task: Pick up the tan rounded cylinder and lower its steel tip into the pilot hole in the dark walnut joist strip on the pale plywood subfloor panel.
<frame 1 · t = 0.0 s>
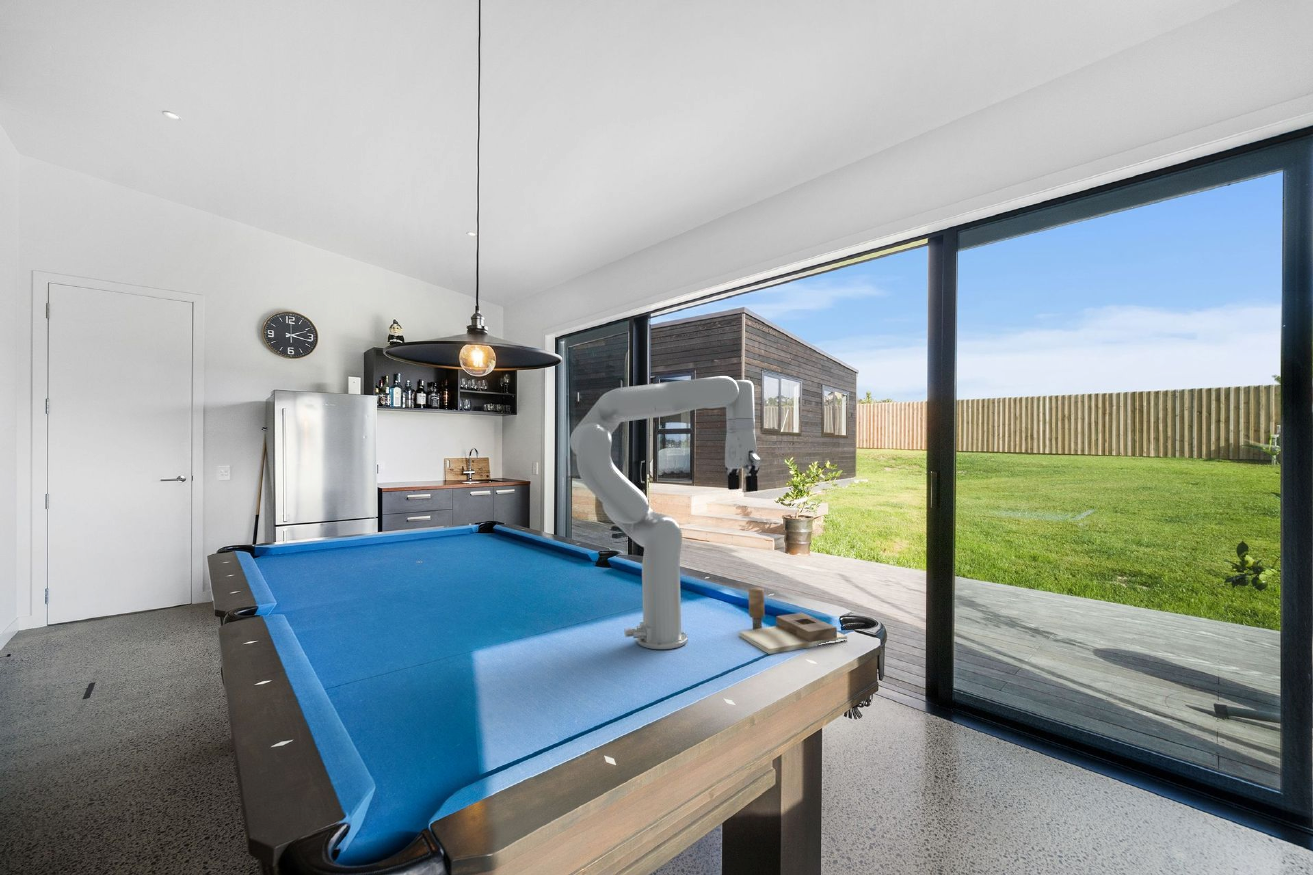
hand: (742, 490, 148), 37 cm above the table, fingers open, 9 cm apart
subfloor panel: (792, 638, 137), on the table
tan rounded cylinder: (757, 629, 145), on the table
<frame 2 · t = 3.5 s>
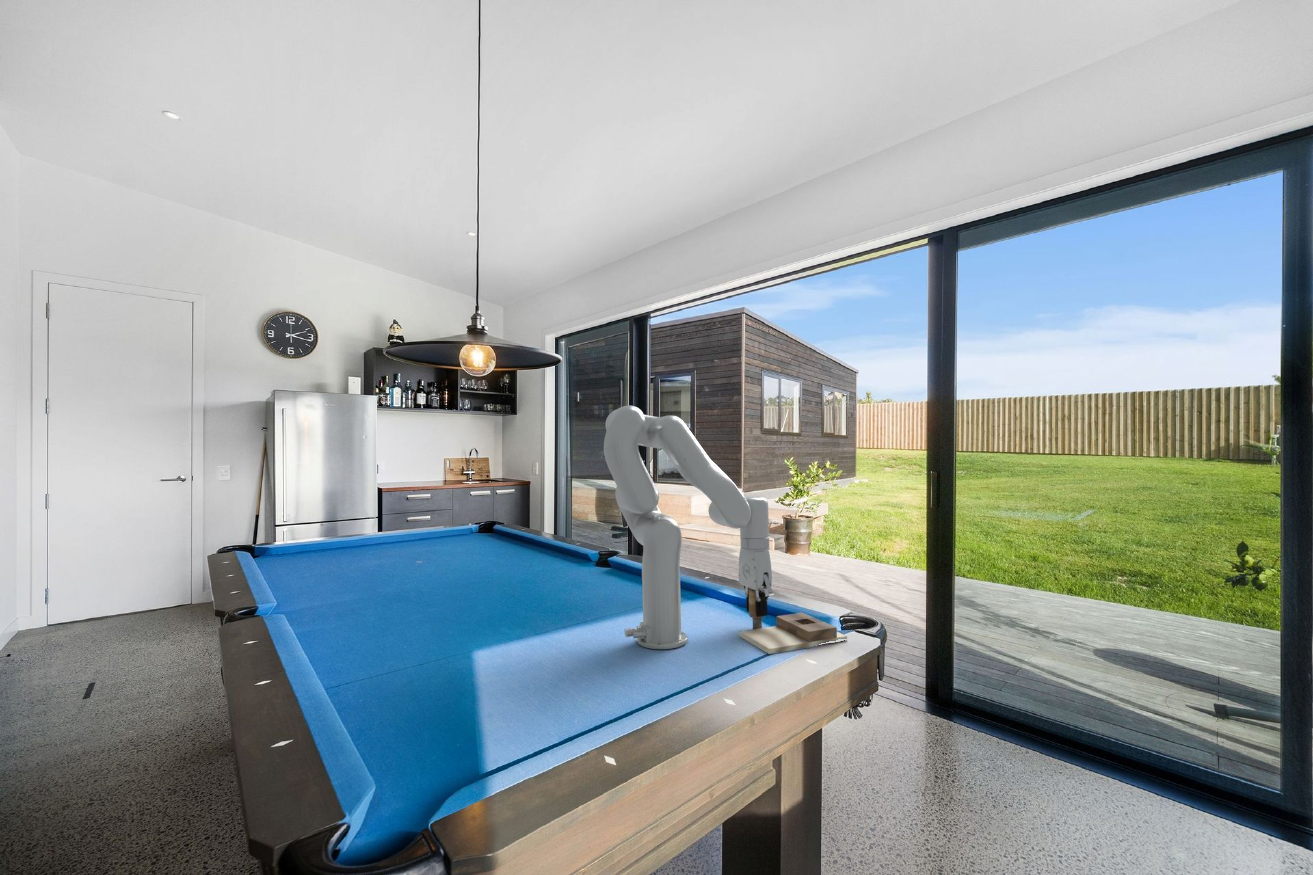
hand: (756, 612, 146), 4 cm above the table, fingers closed on tan rounded cylinder, 4 cm apart
tan rounded cylinder: (757, 629, 145), on the table, touching gripper
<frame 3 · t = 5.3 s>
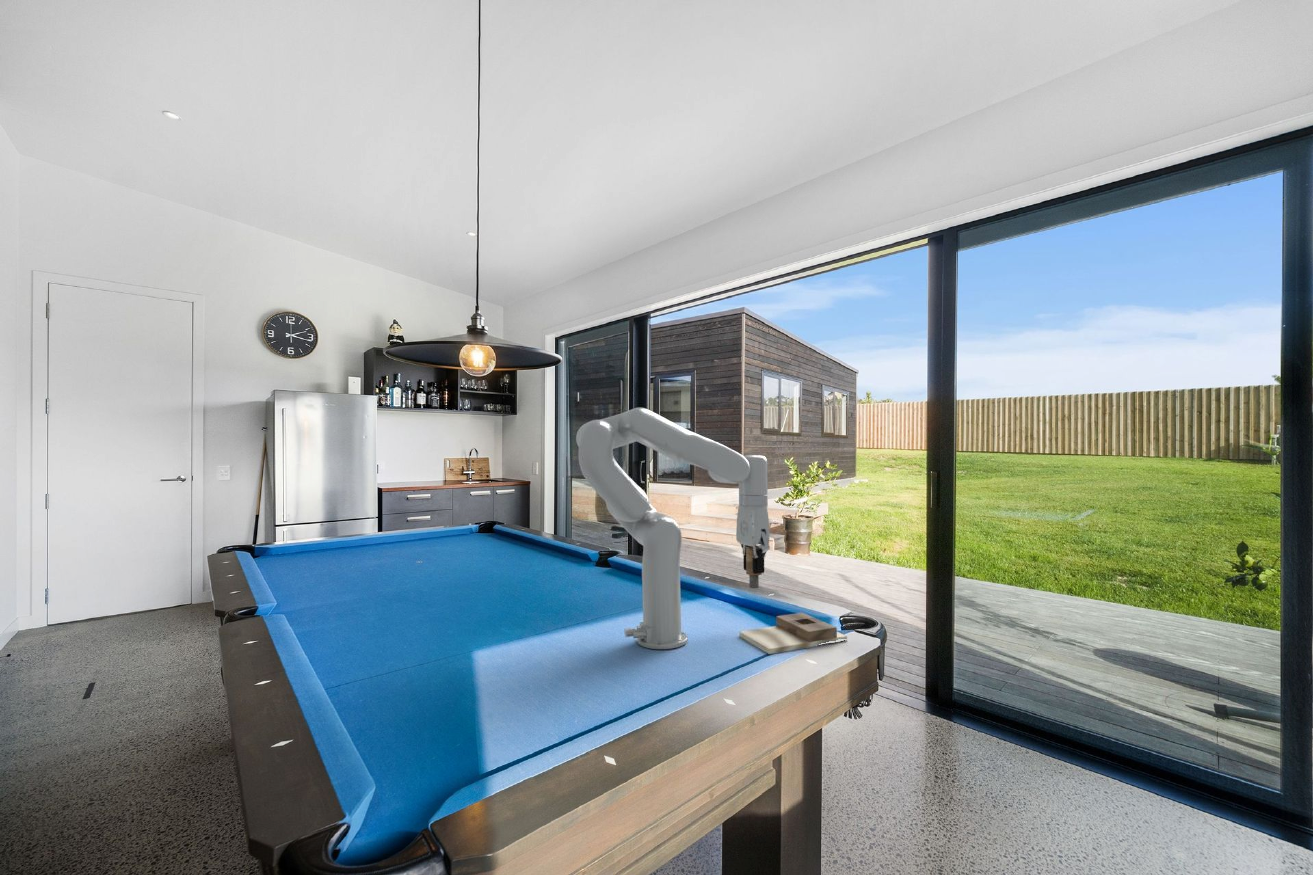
hand: (753, 570, 146), 15 cm above the table, fingers closed on tan rounded cylinder, 4 cm apart
tan rounded cylinder: (754, 587, 146), point 11 cm above the table, touching gripper
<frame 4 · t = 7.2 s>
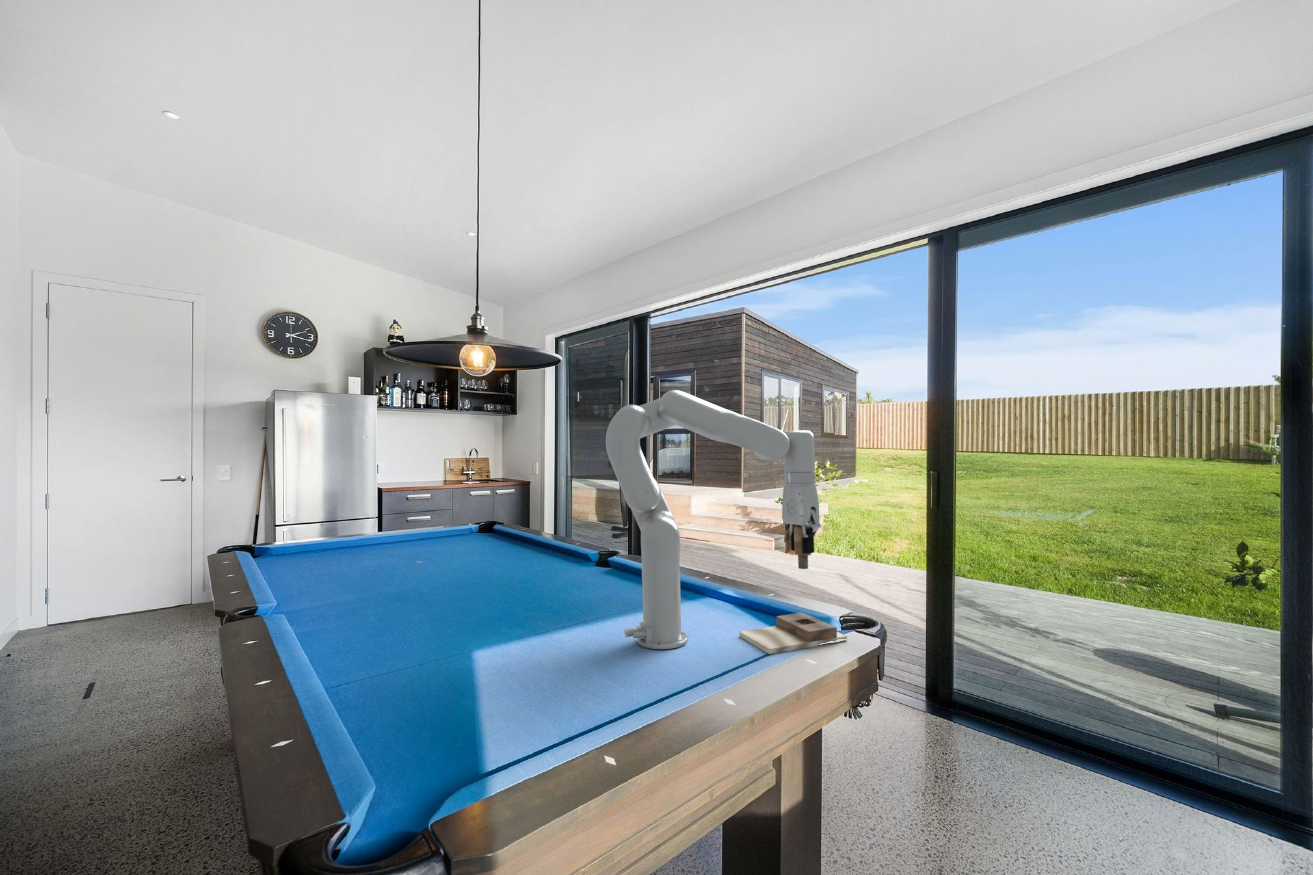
hand: (802, 550, 140), 21 cm above the table, fingers closed on tan rounded cylinder, 4 cm apart
tan rounded cylinder: (803, 567, 140), point 17 cm above the table, touching gripper
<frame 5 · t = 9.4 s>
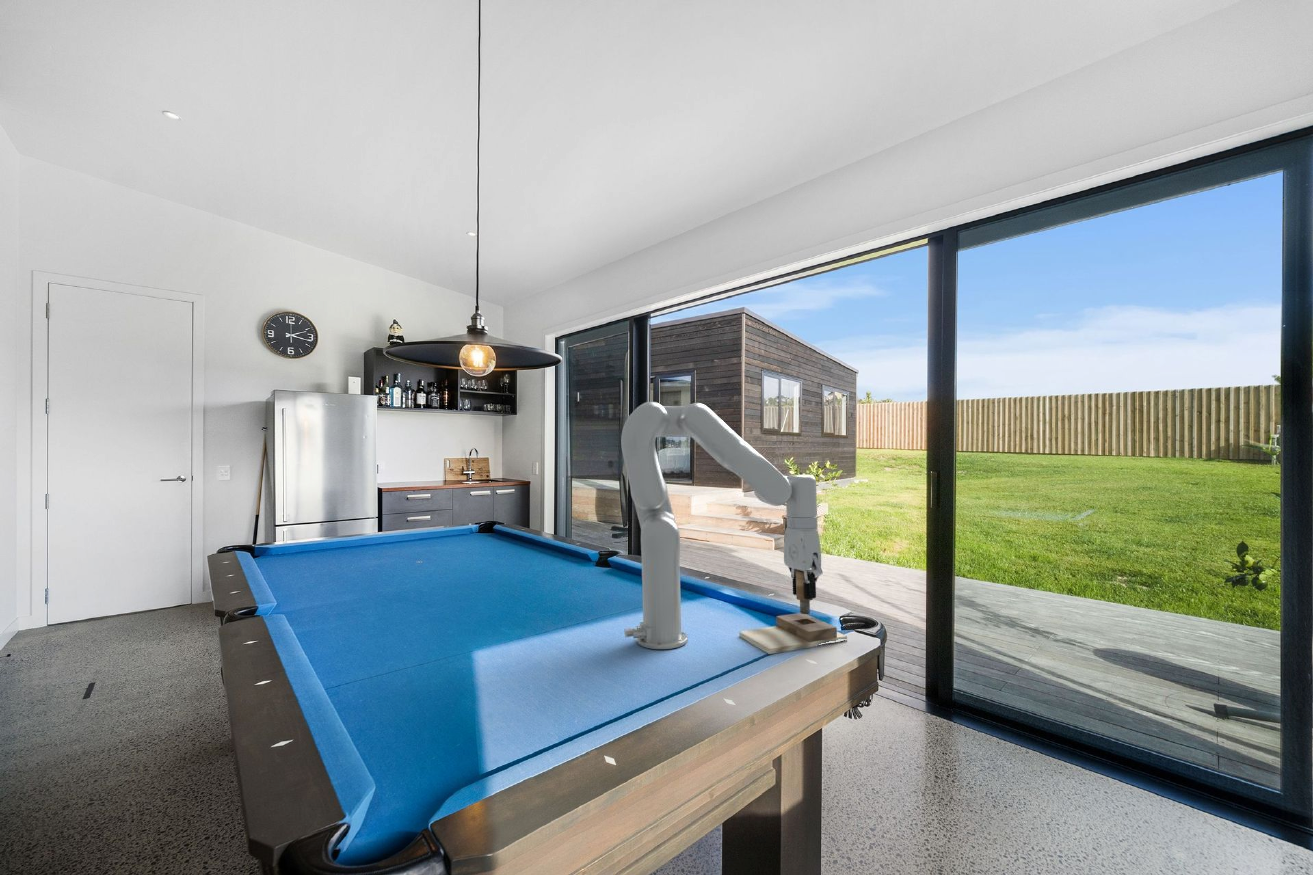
hand: (804, 595, 139), 10 cm above the table, fingers closed on tan rounded cylinder, 4 cm apart
tan rounded cylinder: (805, 612, 139), point 6 cm above the table, touching gripper
when the fingers open (6 cm above the table, at t = 10.9 s): tan rounded cylinder stays where it is, resting on subfloor panel.
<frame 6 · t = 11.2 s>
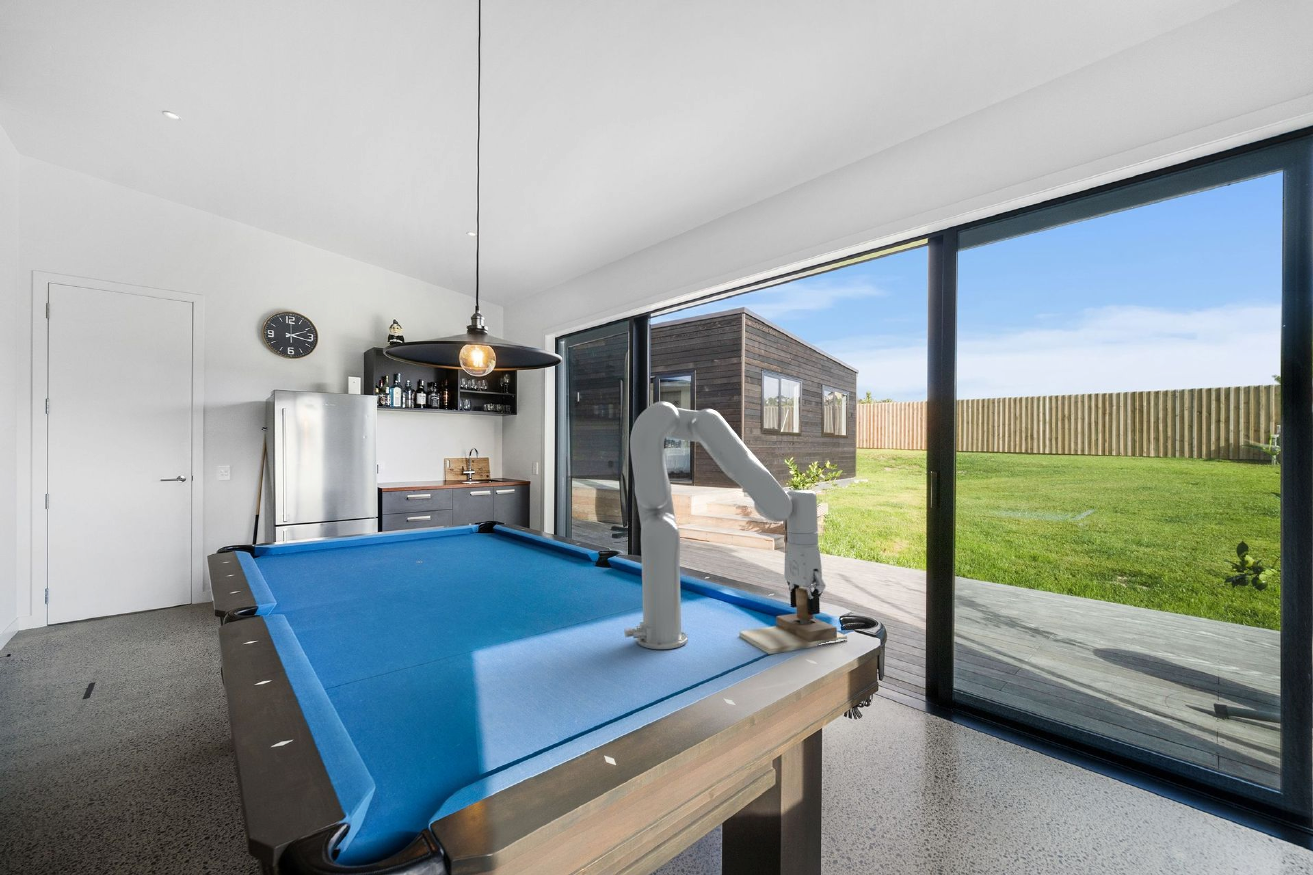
hand: (804, 609, 139), 7 cm above the table, fingers open, 6 cm apart
tan rounded cylinder: (805, 631, 139), point 1 cm above the table, touching subfloor panel
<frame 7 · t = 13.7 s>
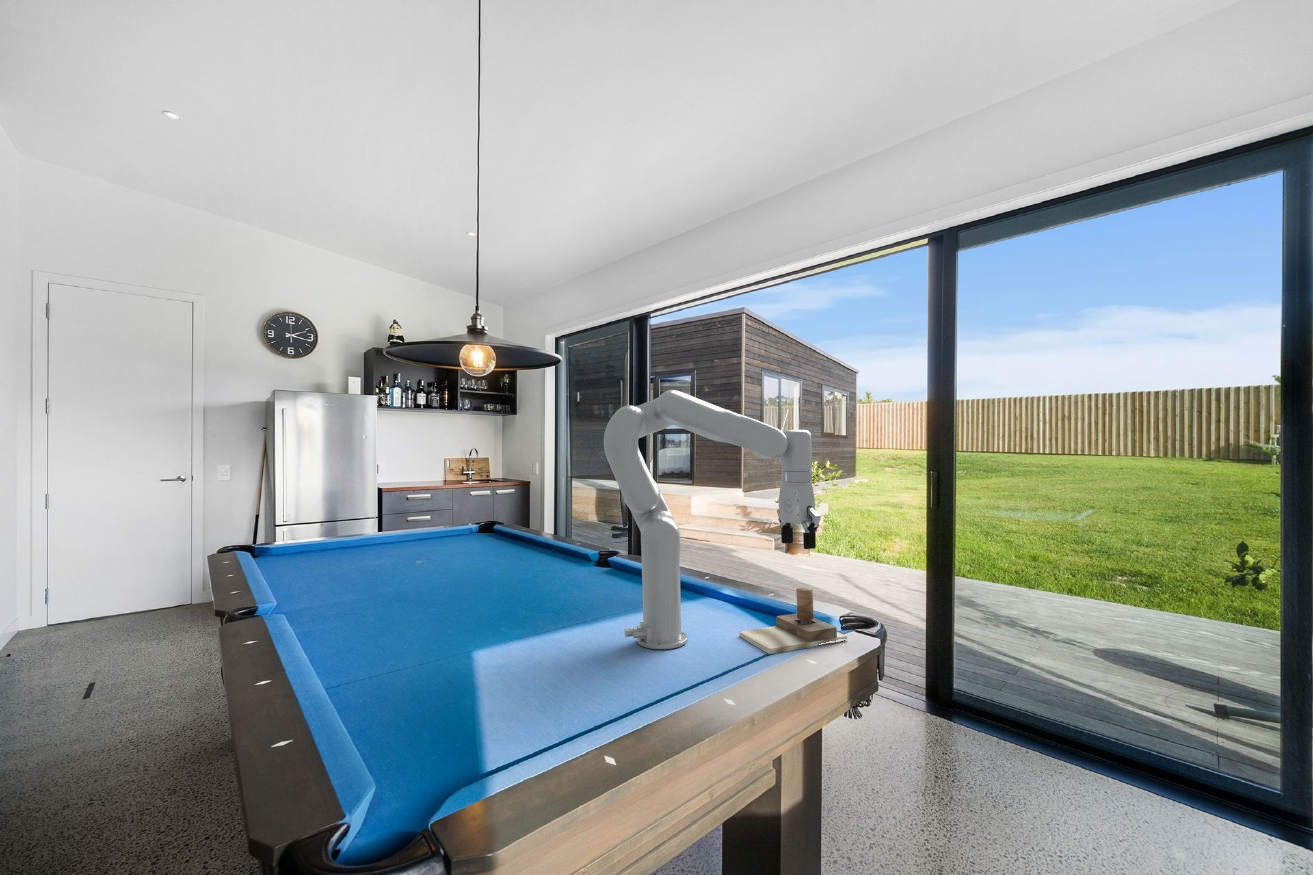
hand: (798, 545, 140), 23 cm above the table, fingers open, 9 cm apart
nothing on the table moved.
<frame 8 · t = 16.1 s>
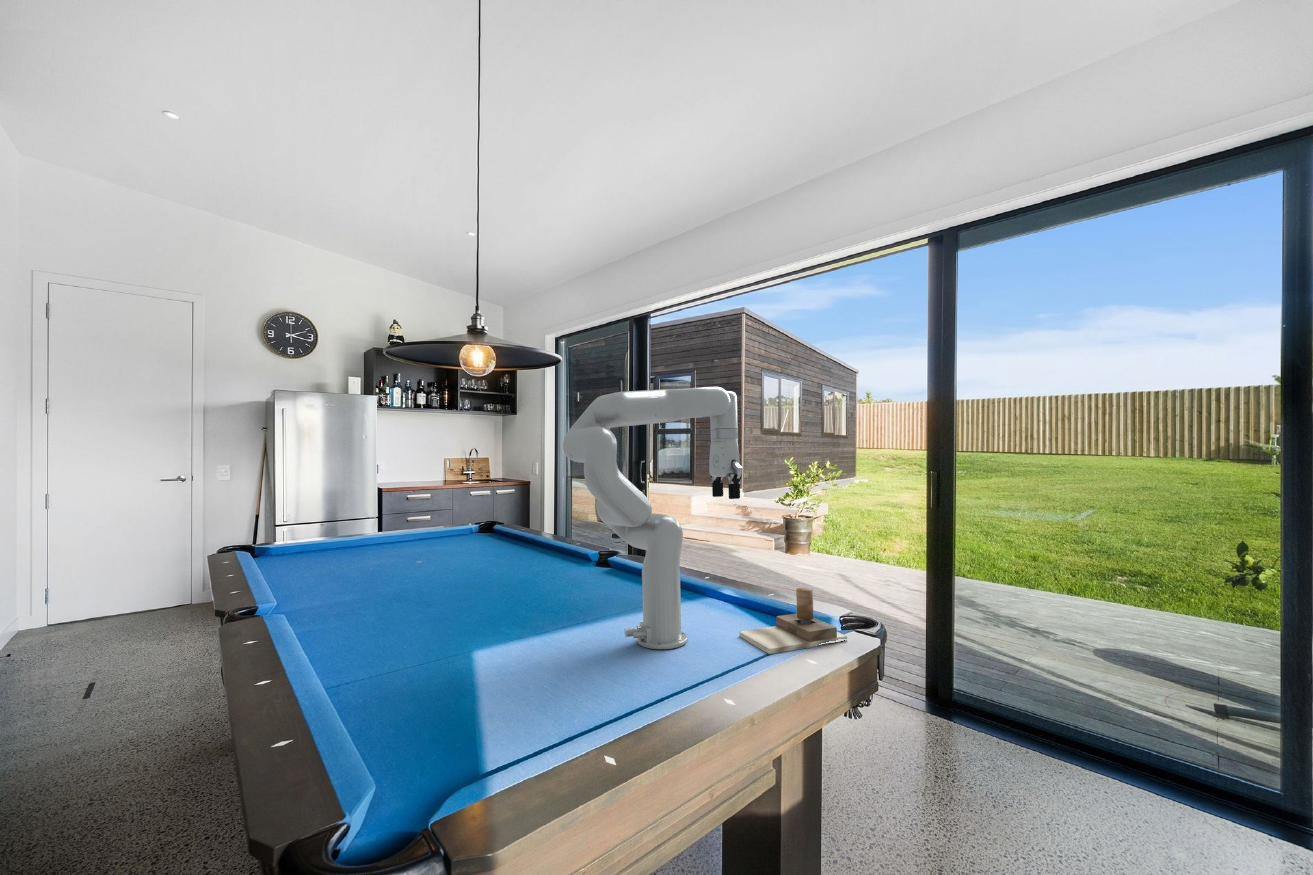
hand: (725, 497, 153), 34 cm above the table, fingers open, 9 cm apart
nothing on the table moved.
at the end: tan rounded cylinder 0.1 cm from the target spot on the subfloor panel, point 1.2 cm above the subfloor panel's base; tan rounded cylinder tilted 0°; the gripper is holding nothing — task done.
